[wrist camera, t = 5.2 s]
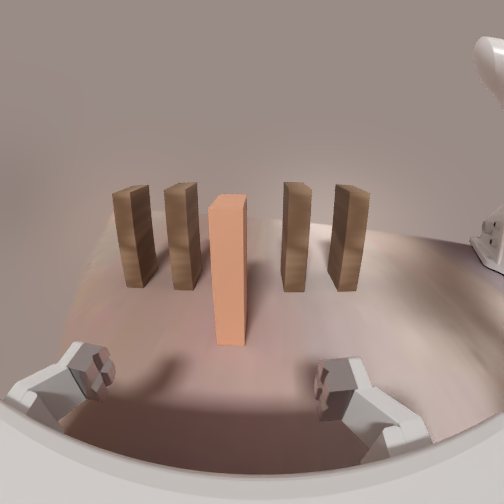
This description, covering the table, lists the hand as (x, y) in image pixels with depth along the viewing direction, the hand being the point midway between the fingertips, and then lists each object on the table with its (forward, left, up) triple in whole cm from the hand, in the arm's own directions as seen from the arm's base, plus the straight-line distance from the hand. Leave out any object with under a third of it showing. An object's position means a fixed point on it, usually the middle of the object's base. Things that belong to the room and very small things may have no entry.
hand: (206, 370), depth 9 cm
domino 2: (-16, -12, -6) cm, 20 cm away
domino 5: (-21, +4, -6) cm, 22 cm away
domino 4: (-19, -1, -6) cm, 20 cm away
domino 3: (-10, -4, -6) cm, 12 cm away
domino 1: (-14, -17, -6) cm, 23 cm away
